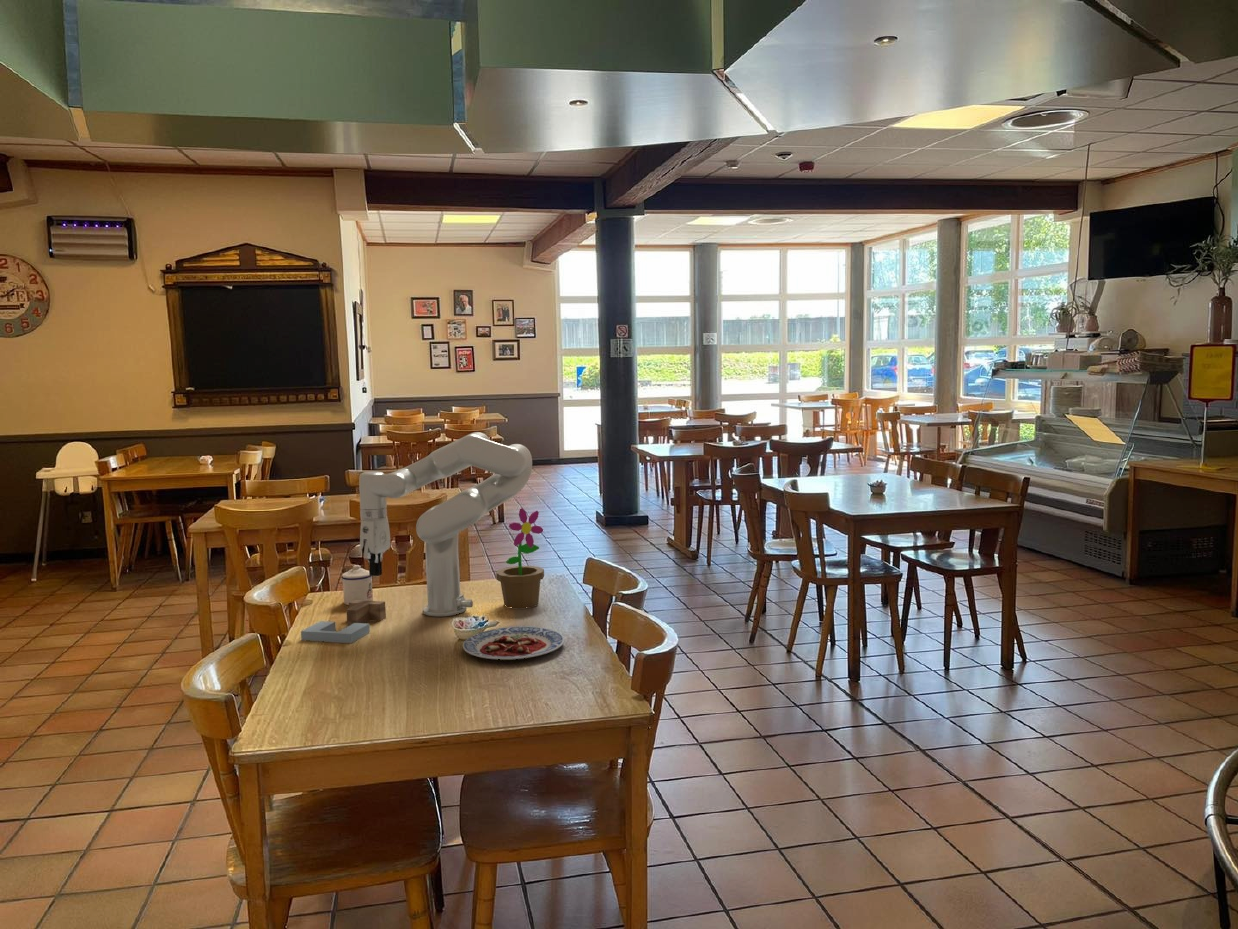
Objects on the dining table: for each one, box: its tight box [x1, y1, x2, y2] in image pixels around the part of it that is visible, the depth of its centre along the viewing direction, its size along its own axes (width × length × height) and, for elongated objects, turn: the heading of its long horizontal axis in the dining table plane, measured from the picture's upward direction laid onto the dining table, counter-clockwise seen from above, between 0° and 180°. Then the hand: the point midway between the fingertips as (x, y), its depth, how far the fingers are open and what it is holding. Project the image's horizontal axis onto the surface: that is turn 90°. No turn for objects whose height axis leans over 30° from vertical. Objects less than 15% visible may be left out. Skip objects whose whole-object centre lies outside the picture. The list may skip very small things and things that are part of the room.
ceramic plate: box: [462, 626, 565, 661], centre depth 231 cm, size 26×26×3 cm
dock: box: [300, 620, 371, 644], centre depth 245 cm, size 15×10×2 cm, turn 76°
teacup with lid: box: [341, 564, 374, 606], centre depth 280 cm, size 12×9×12 cm
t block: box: [345, 600, 387, 627], centre depth 257 cm, size 10×10×5 cm
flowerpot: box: [495, 507, 545, 609], centre depth 271 cm, size 14×14×30 cm
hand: (375, 575), depth 266 cm, fingers closed
